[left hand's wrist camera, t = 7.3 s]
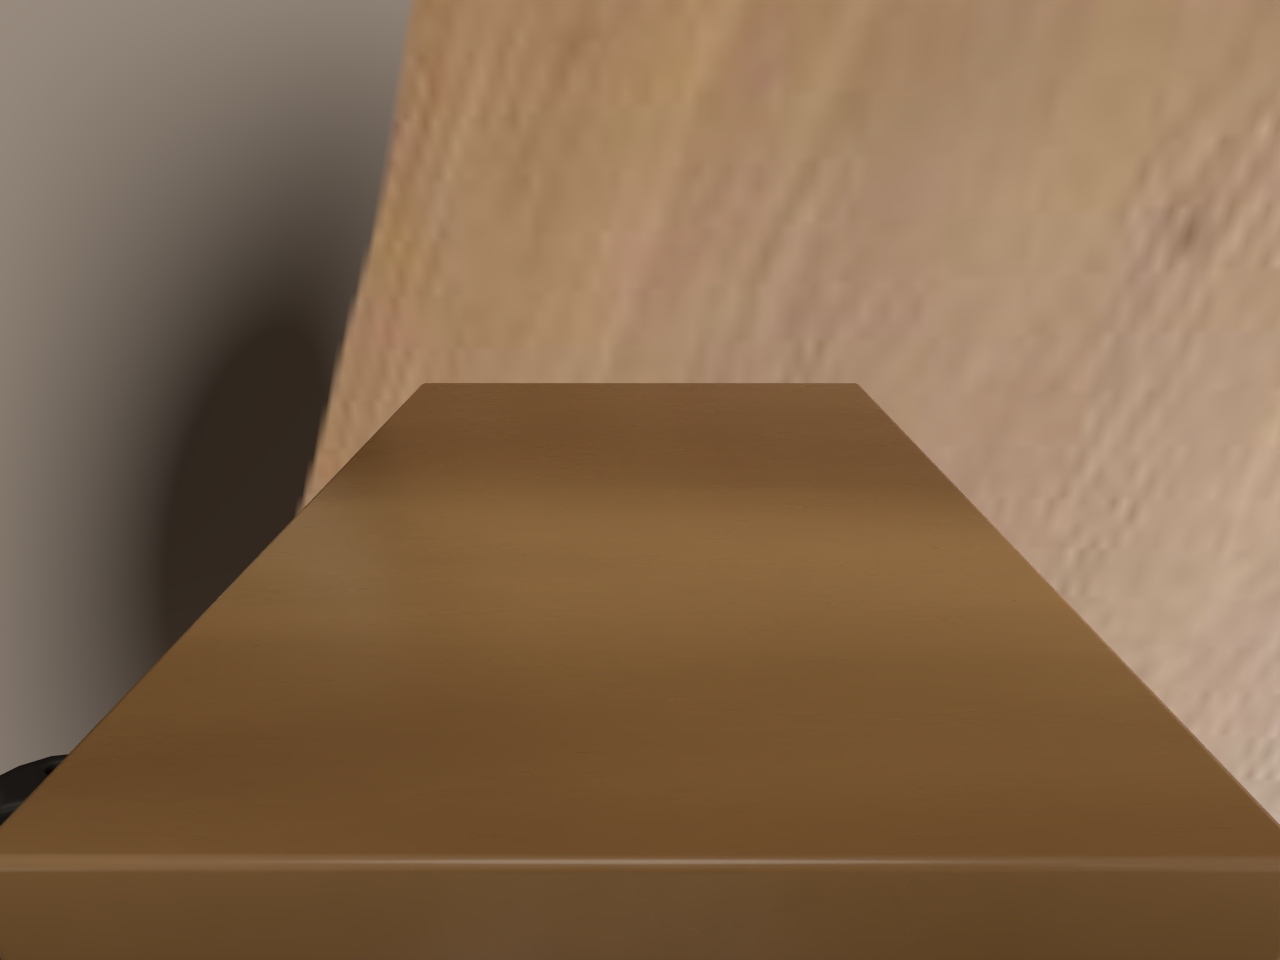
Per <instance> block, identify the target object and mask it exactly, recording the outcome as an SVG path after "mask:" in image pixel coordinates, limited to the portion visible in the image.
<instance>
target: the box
mask: <svg viewBox="0 0 1280 960" xmlns="http://www.w3.org/2000/svg"><path fill="white" fill-rule="evenodd" d="M0 959H1V960H1280V825H1279V824H1278V823H1277V821H1276V820H1275V819H1274V818H1273V817H1272V816H1271V815H1270V814H1269V813H1268V812H1267V811H1266V810H1265V809H1264V808H1263V807H1262V806H1261V805H1260V804H1259V803H1258V802H1257V801H1256V800H1255V798H1254V797H1253V796H1252V795H1251V794H1250V793H1249V792H1248V791H1247V790H1246V789H1245V788H1244V787H1243V786H1242V785H1241V784H1240V783H1239V782H1238V781H1237V780H1236V779H1235V778H1234V777H1233V776H1232V774H1231V773H1230V772H1229V771H1228V770H1227V769H1226V768H1225V767H1224V766H1223V765H1222V764H1221V763H1220V762H1219V761H1218V760H1217V759H1216V758H1215V757H1214V756H1213V755H1212V754H1211V753H1210V751H1209V750H1208V749H1207V748H1206V747H1205V746H1204V745H1203V744H1202V743H1201V742H1200V741H1199V740H1198V739H1197V738H1196V737H1195V736H1194V735H1193V734H1192V733H1191V732H1190V731H1189V730H1188V728H1187V727H1186V726H1185V725H1184V724H1183V723H1182V722H1181V721H1180V720H1179V719H1178V718H1177V717H1176V716H1175V715H1174V714H1173V713H1172V712H1171V711H1170V710H1169V709H1168V708H1167V707H1166V705H1165V704H1164V703H1163V702H1162V701H1161V700H1160V699H1159V698H1158V697H1157V696H1156V695H1155V694H1154V693H1153V692H1152V691H1151V690H1150V689H1149V688H1148V687H1147V686H1146V685H1145V684H1144V683H1143V681H1142V680H1141V679H1140V678H1139V677H1138V676H1137V675H1136V674H1135V673H1134V672H1133V671H1132V670H1131V669H1130V668H1129V667H1128V666H1127V665H1126V664H1125V663H1124V662H1123V661H1122V660H1121V658H1120V657H1119V656H1118V655H1117V654H1116V653H1115V652H1114V651H1113V650H1112V649H1111V648H1110V647H1109V646H1108V645H1107V644H1106V643H1105V642H1104V641H1103V640H1102V639H1101V638H1100V637H1099V635H1098V634H1097V633H1096V632H1095V631H1094V630H1093V629H1092V628H1091V627H1090V626H1089V625H1088V624H1087V623H1086V622H1085V621H1084V620H1083V619H1082V618H1081V617H1080V616H1079V615H1078V614H1077V612H1076V611H1075V610H1074V609H1073V608H1072V607H1071V606H1070V605H1069V604H1068V603H1067V602H1066V601H1065V600H1064V599H1063V598H1062V597H1061V596H1060V595H1059V594H1058V593H1057V592H1056V591H1055V590H1054V588H1053V587H1052V586H1051V585H1050V584H1049V583H1048V582H1047V581H1046V580H1045V579H1044V578H1043V577H1042V576H1041V575H1040V574H1039V573H1038V572H1037V571H1036V570H1035V569H1034V568H1033V567H1032V565H1031V564H1030V563H1029V562H1028V561H1027V560H1026V559H1025V558H1024V557H1023V556H1022V555H1021V554H1020V553H1019V552H1018V551H1017V550H1016V549H1015V548H1014V547H1013V546H1012V545H1011V544H1010V542H1009V541H1008V540H1007V539H1006V538H1005V537H1004V536H1003V535H1002V534H1001V533H1000V532H999V531H998V530H997V529H996V528H995V527H994V526H993V525H992V524H991V523H990V522H989V521H988V520H987V518H986V517H985V516H984V515H983V514H982V513H981V512H980V511H979V510H978V509H977V508H976V507H975V506H974V505H973V504H972V503H971V502H970V501H969V500H968V499H967V498H966V497H965V495H964V494H963V493H962V492H961V491H960V490H959V489H958V488H957V487H956V486H955V485H954V484H953V483H952V482H951V481H950V480H949V479H948V478H947V477H946V476H945V475H944V474H943V472H942V471H941V470H940V469H939V468H938V467H937V466H936V465H935V464H934V463H933V462H932V461H931V460H930V459H929V458H928V457H927V456H926V455H925V454H924V453H923V452H922V451H921V449H920V448H919V447H918V446H917V445H916V444H915V443H914V442H913V441H912V440H911V439H910V438H909V437H908V436H907V435H906V434H905V433H904V432H903V431H902V430H901V429H900V428H899V427H898V425H897V424H896V423H895V422H894V421H893V420H892V419H891V418H890V417H889V416H888V415H887V414H886V413H885V412H884V411H883V410H882V409H881V408H880V407H879V406H878V405H877V404H876V402H875V401H874V400H873V399H872V398H871V397H870V396H869V395H868V394H867V393H866V392H865V391H864V390H863V389H862V388H861V387H860V386H859V385H858V384H856V383H425V384H422V385H421V386H420V387H419V388H418V389H417V391H416V392H415V393H414V394H413V395H412V396H411V397H410V398H409V399H408V400H407V401H406V402H405V403H404V404H403V405H402V406H401V407H400V408H399V409H398V410H397V411H396V412H395V414H394V415H393V416H392V417H391V418H390V419H389V420H388V421H387V422H386V423H385V424H384V425H383V426H382V427H381V428H380V429H379V430H378V431H377V432H376V433H375V434H374V436H373V437H372V438H371V439H370V440H369V441H368V442H367V443H366V444H365V445H364V446H363V447H362V448H361V449H360V450H359V451H358V452H357V453H356V454H355V455H354V456H353V457H352V459H351V460H350V461H349V462H348V463H347V464H346V465H345V466H344V467H343V468H342V469H341V470H340V471H339V472H338V473H337V474H336V475H335V476H334V477H333V478H332V479H331V480H330V482H329V483H328V484H327V485H326V486H325V487H324V488H323V489H322V490H321V491H320V492H319V493H318V494H317V495H316V496H315V497H314V498H313V499H312V500H311V501H310V502H309V503H308V505H307V506H306V507H305V508H304V509H303V510H302V511H301V512H300V513H299V514H298V515H297V516H296V517H295V518H294V519H293V520H292V521H291V522H290V523H289V524H288V525H287V526H286V528H285V529H284V530H283V531H282V532H281V533H280V534H279V535H278V536H277V537H276V538H275V539H274V540H273V541H272V542H271V543H270V544H269V545H268V546H267V547H266V549H265V550H264V551H263V552H262V553H261V554H260V555H259V556H258V557H257V558H256V559H255V560H254V561H253V562H252V563H251V564H250V565H249V566H248V567H247V568H246V569H245V570H244V572H243V573H242V574H241V575H240V576H239V577H238V578H237V579H236V580H235V581H234V582H233V583H232V584H231V585H230V586H229V587H228V588H227V589H226V590H225V591H224V592H223V593H222V594H221V596H220V597H219V598H218V599H217V600H216V601H215V602H214V603H213V604H212V605H211V606H210V607H209V608H208V609H207V610H206V611H205V612H204V613H203V614H202V615H201V616H200V618H199V619H198V620H197V621H196V622H195V623H194V624H193V625H192V626H191V627H190V628H189V629H188V630H187V631H186V632H185V633H184V634H183V635H182V636H181V637H180V638H179V639H178V640H177V642H176V643H175V644H174V645H173V646H172V647H171V648H170V649H169V650H168V651H167V652H166V653H165V654H164V655H163V656H162V657H161V658H160V659H159V660H158V661H157V662H156V664H155V665H154V666H153V667H152V668H151V669H150V670H149V671H148V672H147V673H146V674H145V675H144V676H143V677H142V678H141V679H140V680H139V681H138V682H137V683H136V684H135V685H134V687H133V688H132V689H131V690H130V691H129V692H128V693H127V694H126V695H125V696H124V697H123V698H122V699H121V700H120V701H119V702H118V703H117V704H116V705H115V706H114V707H113V709H112V710H111V711H110V712H109V713H108V714H107V715H106V716H105V717H104V718H103V719H102V720H101V721H100V722H99V723H98V724H97V725H96V726H95V727H94V728H93V730H91V732H90V733H89V734H88V735H87V736H86V737H85V738H84V739H83V740H82V741H81V742H80V743H79V744H78V745H77V746H76V747H75V748H74V749H73V750H72V751H71V752H70V753H69V754H68V756H67V757H66V758H65V759H64V760H63V761H62V762H61V763H60V764H59V765H58V766H57V767H56V768H55V769H54V770H53V771H52V772H51V773H50V774H49V775H48V776H47V778H46V779H45V780H44V781H43V782H42V783H41V784H40V785H39V786H38V787H37V788H36V789H35V790H34V791H33V792H32V793H31V794H30V795H29V796H28V797H27V798H26V799H25V801H24V802H23V803H22V804H21V805H20V806H19V807H18V808H17V809H16V810H15V811H14V812H13V813H12V814H11V815H10V816H9V817H8V818H7V819H6V820H5V821H4V822H3V824H2V825H1V826H0Z"/></svg>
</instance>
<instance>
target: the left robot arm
mask: <svg viewBox="0 0 1280 960" xmlns="http://www.w3.org/2000/svg"><path fill="white" fill-rule="evenodd" d="M67 756H68V755H59V756H51V757H47V758H44V759H41V760H37V761H34V762H31V763H28V764H24V765H21V766H18V767H16V768H14V769H12V770H10V771H8V772H6V773H4V774H2V775H0V826H1V825H2V824H3V822H4V821H5V820H6V819H7V818H8V817H9V816H10V815H11V814H12V813H13V812H14V811H15V810H16V809H17V808H18V807H19V806H20V805H21V804H22V803H23V802H24V801H25V799H26V798H27V797H28V796H29V795H30V794H31V793H32V792H33V791H34V790H35V789H36V788H37V787H38V786H39V785H40V784H41V783H42V782H43V781H44V780H45V779H46V778H47V776H48V775H49V774H50V773H51V772H52V771H53V770H54V769H55V768H56V767H57V766H58V765H59V764H60V763H61V762H62V761H63V760H64V759H65V758H66V757H67ZM0 960H1V959H0Z"/></svg>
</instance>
